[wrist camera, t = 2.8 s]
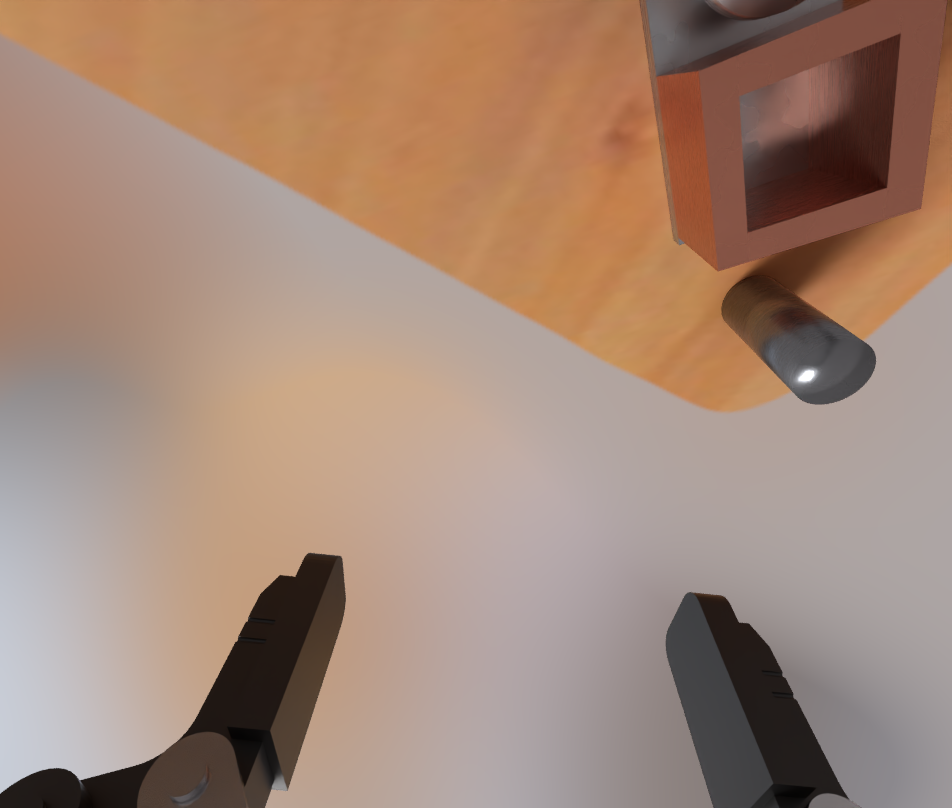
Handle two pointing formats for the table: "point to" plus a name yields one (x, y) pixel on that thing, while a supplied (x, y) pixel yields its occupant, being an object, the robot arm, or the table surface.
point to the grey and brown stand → (790, 117)
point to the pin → (798, 341)
